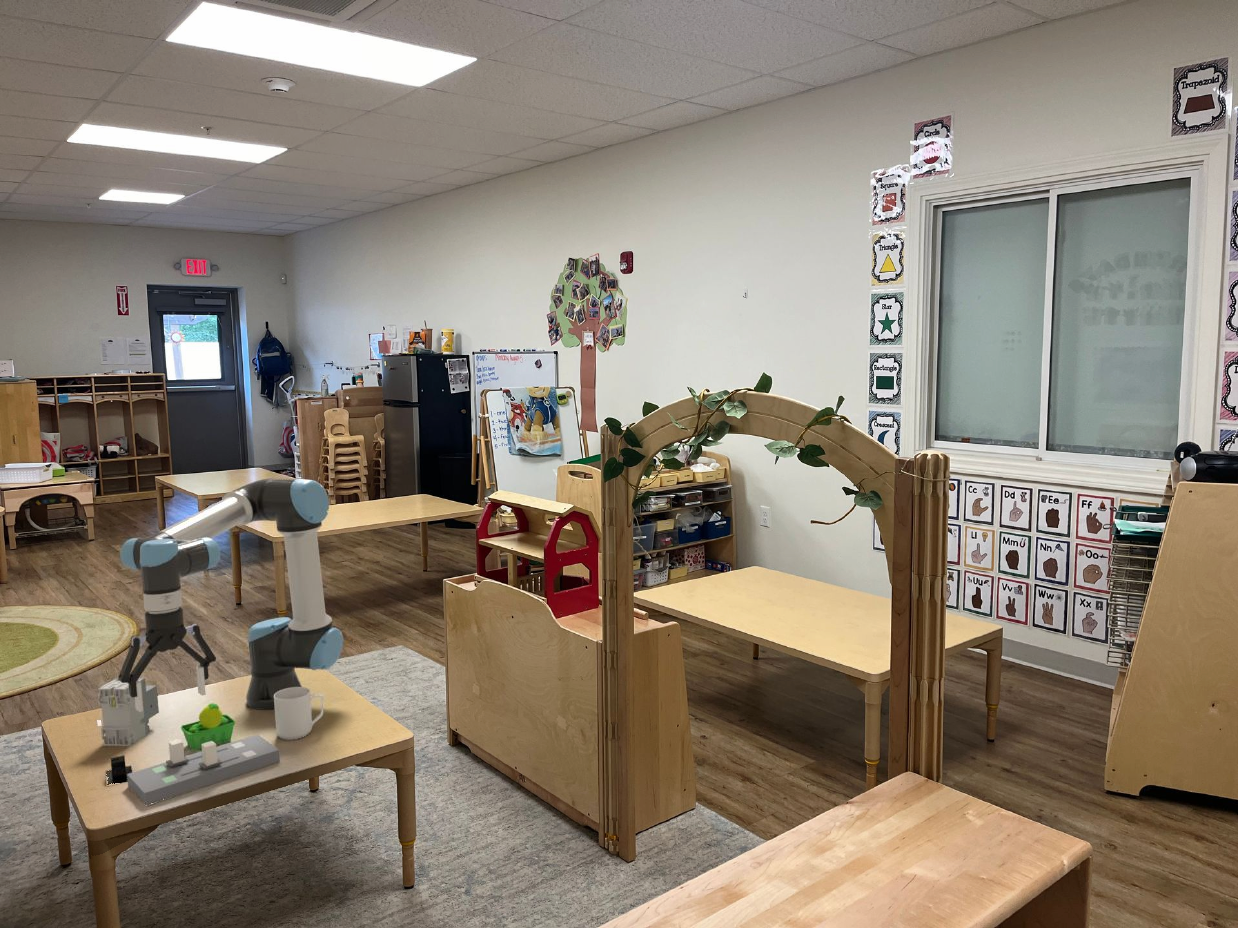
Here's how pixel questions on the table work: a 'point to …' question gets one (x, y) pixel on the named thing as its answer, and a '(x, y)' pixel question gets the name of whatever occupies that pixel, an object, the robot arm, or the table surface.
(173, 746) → the breaker handle
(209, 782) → the gray slotted slider panel
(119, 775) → the black stepped block
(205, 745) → the block
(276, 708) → the mug
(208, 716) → the fruit basket
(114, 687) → the circuit breaker
